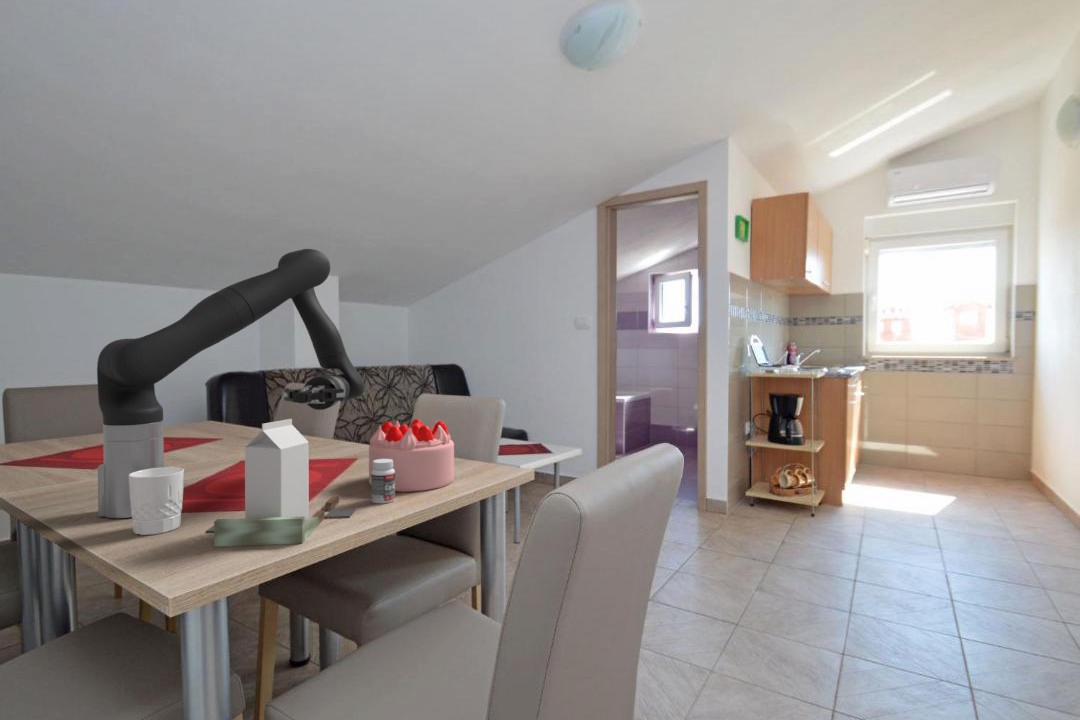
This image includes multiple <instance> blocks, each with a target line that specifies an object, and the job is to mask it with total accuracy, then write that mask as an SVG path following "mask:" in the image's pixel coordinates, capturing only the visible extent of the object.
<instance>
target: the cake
mask: <svg viewBox="0 0 1080 720" xmlns="http://www.w3.org/2000/svg"><path fill="white" fill-rule="evenodd" d="M369 443H370V445H369V446H368V484H369V485H370V486H371V472H372V470H374V468H373V461H374V460H377V459H392V460H393V467H392V468H393V469H394V470H395V493H397V492H400V493H402V492H403V493H407V492H408V493H410V492H422V491H423V492H425V491H430V490H436V489H440V488H443V487H446V486H448V485H449V484H451V483H452V482H453V480H455V479H454V478H455V442H454V441H453V440H452V439H451V434H450V431H449V429H448V427H447V424H446V423H445V422H444V421H441V420H439V421H438V420H435V422H434V424H433V426H432V428H431V429H430V426H428V425H426V424H423V422H422V420H420V419H418V418H416V419H413V420H412V421H411V423H410V424H409V427H408V425H407V424H400V422H399V420H396V421H395V423H394V425H393V423H392V422H391V421H385V422H383V423H382V424H381V425H379V426H378V429H377V430H376V431H375V432H374V433H373V435H371V436H370V438H369Z"/></svg>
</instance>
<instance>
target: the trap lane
mask: <svg viewBox="0 0 1080 720" xmlns="http://www.w3.org/2000/svg"><path fill="white" fill-rule="evenodd" d="M339 498H340V495H338V494H336V495H331V497H330V498H328V500H327V501H325V503H324V504H325V505H324V506H325V507H324V509H325V510H322V509H321V510H317V511H316V512H314V514H312V516H310V517H309V520H308V521H307V522H306V523H305V517H272V518H245V517H244V518H243V517H242V518H240V517H239V518H219V519H218V518H217V519H216V520H215V521H213V526H214V532H213V540H214V543H213V546H214V547H236V546H237V547H238V546H242V545H243V546H264V545H265V546H266V545H269V546H270V545H291V544H292V545H293V544H303V543H304V542H305V541H306V540H307V539H308V538H309V537H310V535H312V533H313V532H314V531H315V529H317V528H318V527H319V525H320V524H321V523H322V522H323V521H324V520H325V519H326V518H325V516H326V514H325V513H326V512H325V511H328V512H329V511H330V510H331V509H335V508H336V506H337V505H338V504H339V501H340V499H339Z"/></svg>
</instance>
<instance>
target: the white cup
mask: <svg viewBox="0 0 1080 720" xmlns="http://www.w3.org/2000/svg"><path fill="white" fill-rule="evenodd" d="M184 479H185V469H184V468H182V467H177V466H165V467H162V468H152V469H145V470H140V471H136V472H133V473H130V474H129V490H130V505H131V515H132V517H131V519H132V533H134V534H135V535H137V534H140V535H139V536H151V535H153V536H154V535H158V534H165V533H168V532H171V531H174V530H176V529H178V528H180V526H181V524H182V511H183V500H184V499H183V498H184Z"/></svg>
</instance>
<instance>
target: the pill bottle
mask: <svg viewBox="0 0 1080 720" xmlns="http://www.w3.org/2000/svg"><path fill="white" fill-rule="evenodd" d="M392 467H393V460H392V459H377V460H374V461H373V468H374V470H372V472H371V485H370V487H371V489H370V490H371V491H370V493H371V496H370V497H371V498H370V500H371V502H372V503H375V504H388V503H392V502H394V501H395V500H396V492H395V470H394V469H393V468H392Z"/></svg>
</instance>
